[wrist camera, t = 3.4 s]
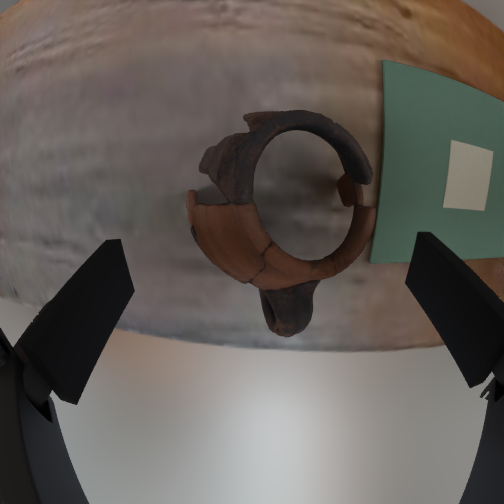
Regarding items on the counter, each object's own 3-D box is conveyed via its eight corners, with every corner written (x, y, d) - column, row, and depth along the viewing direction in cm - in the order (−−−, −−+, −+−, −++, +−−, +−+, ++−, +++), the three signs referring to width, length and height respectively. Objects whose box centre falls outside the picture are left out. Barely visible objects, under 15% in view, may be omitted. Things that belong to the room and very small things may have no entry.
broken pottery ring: (164, 154, 16) (180, 102, 8) (292, 132, 19) (370, 95, 11) (212, 328, 18) (258, 395, 11) (324, 283, 21) (405, 312, 14)
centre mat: (525, 114, 12) (527, 115, 11) (501, 255, 18) (504, 257, 18) (381, 60, 12) (384, 59, 12) (368, 261, 19) (370, 264, 18)
